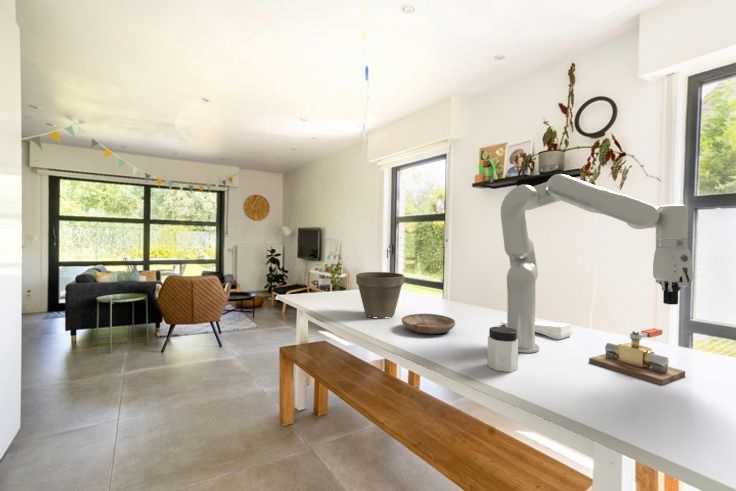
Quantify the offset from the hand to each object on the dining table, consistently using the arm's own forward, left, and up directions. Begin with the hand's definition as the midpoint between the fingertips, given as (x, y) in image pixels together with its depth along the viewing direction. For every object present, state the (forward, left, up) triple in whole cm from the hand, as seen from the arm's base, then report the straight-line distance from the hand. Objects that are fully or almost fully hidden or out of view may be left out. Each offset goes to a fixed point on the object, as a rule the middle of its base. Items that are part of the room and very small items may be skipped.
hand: (670, 303), depth 111 cm
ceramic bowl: (-38, +72, -21) cm, 84 cm away
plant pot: (-43, +106, -21) cm, 116 cm away
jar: (-45, +25, -21) cm, 56 cm away
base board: (-9, +5, -21) cm, 23 cm away
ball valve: (-9, +5, -19) cm, 22 cm away
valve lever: (-3, +5, -11) cm, 13 cm away
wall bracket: (+3, +50, -21) cm, 55 cm away
